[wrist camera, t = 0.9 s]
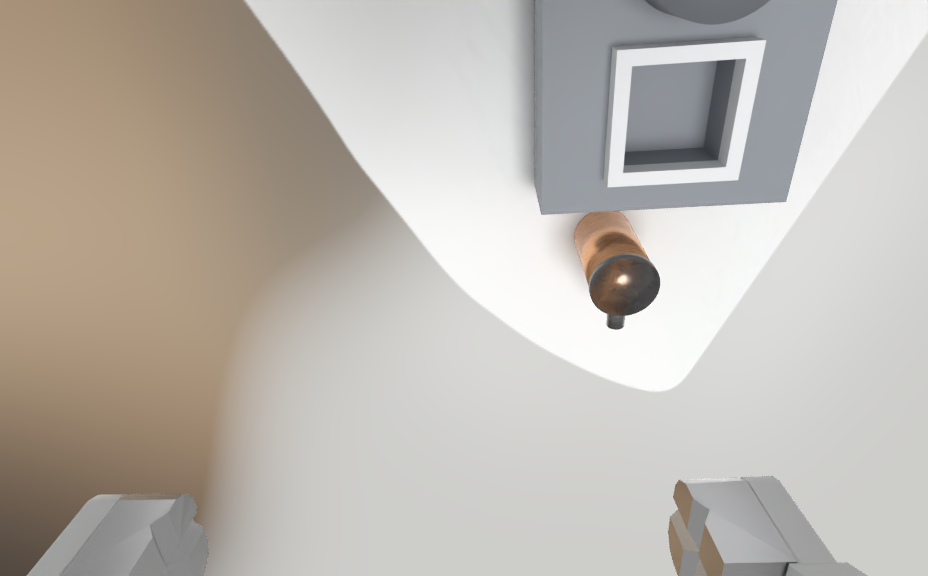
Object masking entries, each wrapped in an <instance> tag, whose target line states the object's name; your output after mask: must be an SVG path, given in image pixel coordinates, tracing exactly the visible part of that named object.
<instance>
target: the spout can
mask: <svg viewBox="0 0 928 576" xmlns="http://www.w3.org/2000/svg"><path fill="white" fill-rule="evenodd" d="M574 241H575V245H576V248H577V251H578V254H579V257H580V261H581V264H582V267H583V270H584V273H585V276H586V279H587V282H588V285H589V293H590V296H591V299H592V301H593V303H594V304H595V306H596V307H597V308H598V309H600V310H601V311H603V312H605V313H607V323H606V324H607V326H608V327H609V328H611V329H621V328H623V327H624V320H625V316H627V315H631V314H635V313H637V312H639V311H641V310H643V309H645V308H646V307H647V306H649V305H650V304H651V303H652V302H653V300H654V299H655V298H656V296H657V294H658V291H659V288H660V277H659V274H658V272H657V270H656V268H655V267H654V265H653V264H652V263H651V262H650V260H649V258H648V257H647V255H646V253H645V251H644V249H643V247H642V246H641V244H640V242H639V240H638V238H637V236H636V235H635V233H634V231H633V229H632V227H631V226H630V224H629V222H628V220H627V219H626V218H625V216H623V215H622V214H621V213H619V212H617V211H602V212H591V213H589V214H588V215H586V216H585V217H584V218H583V219H582V220H581V221H580V222H579V223H578V225H577V227H576V229H575V233H574Z"/></svg>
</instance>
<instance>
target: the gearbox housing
mask: <svg viewBox="0 0 928 576" xmlns="http://www.w3.org/2000/svg"><path fill="white" fill-rule="evenodd" d="M534 3H535V189H536V193H537V198H538V202H539V206H540V211H541V215H545V214H564V213H583V212H602V211H621V210H640V209H659V208H678V207H697V206H716V205H735V204H754V203H772V202H786V200H787V196H788V192H789V188H790V184H791V180H792V176H793V172H794V168H795V164H796V160H797V156H798V153H799V149H800V145H801V141H802V137H803V133H804V129H805V125H806V121H807V117H808V113H809V109H810V106H811V102H812V98H813V94H814V90H815V86H816V82H817V78H818V74H819V70H820V66H821V62H822V59H823V55H824V51H825V47H826V43H827V39H828V35H829V31H830V27H831V23H832V19H833V15H834V12H835V8H836V4H837V0H534Z"/></svg>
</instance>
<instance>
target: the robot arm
mask: <svg viewBox="0 0 928 576" xmlns="http://www.w3.org/2000/svg"><path fill="white" fill-rule="evenodd" d="M673 498H674V500H675V503H676V505H677V507H678V510H677V511H676V512H675V513H674V514H673V515H672V516H671V517H670V522H669V531H668V534H669V545H670V552H671V556H672V560H673V563H674V566H675V569H676V571H677V574H678V576H867V575H866V574H864V573H862V572H861V571H859V570H858V569H856V568H855V567H853V566H852V565H850V564H849V563H837V562H836V560H835V559H834V558H833V556H832V555H831V553H830V552H829V551H828V549H827V548H826V546H825V545H824V543H823V542H822V541H821V539H820V538H819V536H818V535H817V534H816V532H815V531H814V529H813V528H812V526H811V525H810V523H809V522H808V521H807V519H806V518H805V516H804V515H803V514H802V512H801V511H800V509H799V508H798V507H797V505H796V504H795V502H794V501H793V500H792V498H791V497H790V495H789V494H788V493H787V491H786V490H785V488H784V487H783V485H782V484H781V482H780V481H779V480H777V479H776V478H774V477H773V476H764V477H763V476H762V477H741V478H710V479H683V480H679V481H678V482H677V484H676V486H675V491H674V496H673ZM196 512H197V507H196V505H195V502H194V500H193V498H192V496H191V495H186V494H127V495H98V496H96V497H94V498H92V499H90V500H89V501H88V502H87V503H86V504H85V505H84V507H83V508H82V509H81V510H80V512H79V513H78V514H77V515H76V516H75V518H74V519H73V520H72V521H71V522H70V524H69V525H68V526H67V527H66V528H65V530H64V531H63V532H62V533H61V535H60V536H59V537H58V538H57V539H56V541H55V542H54V543H53V544H52V546H51V547H50V548H49V549H48V550H47V552H46V553H45V554H44V555H43V557H42V558H41V559H40V560H39V561H38V563H37V564H36V565H35V566H34V567H33V569H32V570H31V571H30V573H29V574H28V575H27V576H203V574H204V572H205V568H206V563H207V558H208V554H209V553H208V539H207V536H206V533H205V530H204V529H203V528H202V527H201V526H200V525H198V524H197V523H196V522H194V521H193V520H192V519H193V517H194V516H195V514H196Z"/></svg>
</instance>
